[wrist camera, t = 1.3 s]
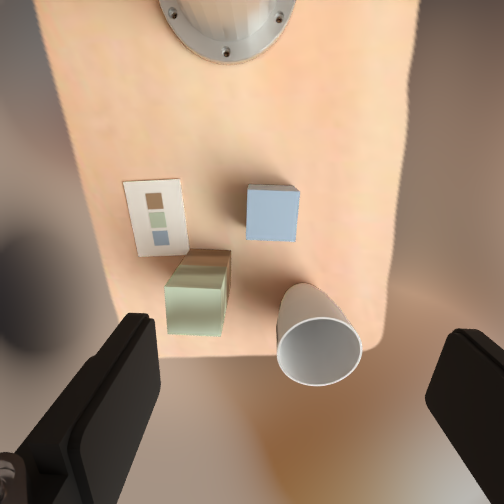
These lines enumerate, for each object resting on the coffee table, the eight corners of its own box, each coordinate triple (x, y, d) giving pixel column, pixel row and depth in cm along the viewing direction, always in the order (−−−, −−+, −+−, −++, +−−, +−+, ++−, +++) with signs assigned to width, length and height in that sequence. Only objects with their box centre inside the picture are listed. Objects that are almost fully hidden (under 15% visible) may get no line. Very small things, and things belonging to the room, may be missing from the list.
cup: (260, 288, 35) (262, 338, 26) (319, 261, 34) (343, 303, 24) (288, 335, 37) (298, 396, 28) (343, 311, 36) (374, 367, 27)
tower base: (190, 248, 33) (164, 286, 24) (231, 250, 33) (221, 289, 24) (191, 285, 35) (167, 334, 26) (230, 287, 35) (220, 336, 26)
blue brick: (248, 183, 31) (247, 189, 26) (293, 185, 31) (300, 191, 26) (247, 227, 32) (245, 239, 28) (289, 228, 32) (295, 241, 28)
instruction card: (123, 181, 31) (122, 182, 30) (180, 178, 30) (179, 179, 30) (139, 256, 34) (138, 257, 33) (190, 254, 33) (189, 255, 33)
